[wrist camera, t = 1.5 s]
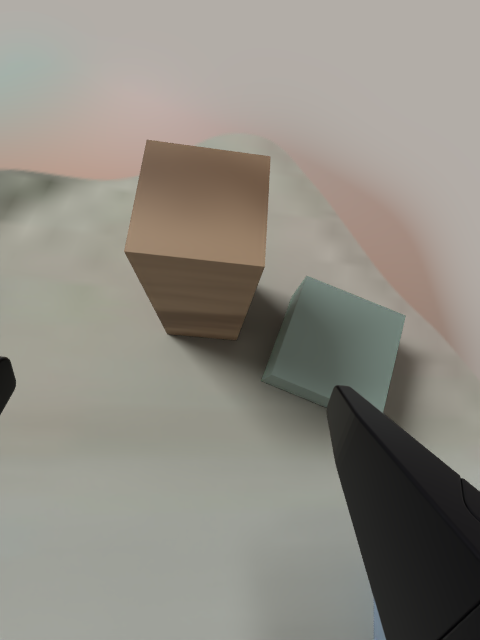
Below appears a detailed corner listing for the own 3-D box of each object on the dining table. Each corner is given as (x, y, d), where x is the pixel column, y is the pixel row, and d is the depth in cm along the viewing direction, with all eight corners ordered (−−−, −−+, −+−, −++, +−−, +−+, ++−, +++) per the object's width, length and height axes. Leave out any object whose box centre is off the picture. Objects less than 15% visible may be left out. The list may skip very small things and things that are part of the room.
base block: (351, 418, 22) (381, 419, 18) (260, 381, 22) (271, 374, 19) (374, 330, 24) (405, 315, 20) (291, 297, 24) (306, 275, 21)
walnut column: (236, 340, 23) (264, 266, 11) (167, 334, 22) (124, 251, 11) (241, 277, 24) (270, 156, 13) (176, 270, 24) (146, 139, 12)
